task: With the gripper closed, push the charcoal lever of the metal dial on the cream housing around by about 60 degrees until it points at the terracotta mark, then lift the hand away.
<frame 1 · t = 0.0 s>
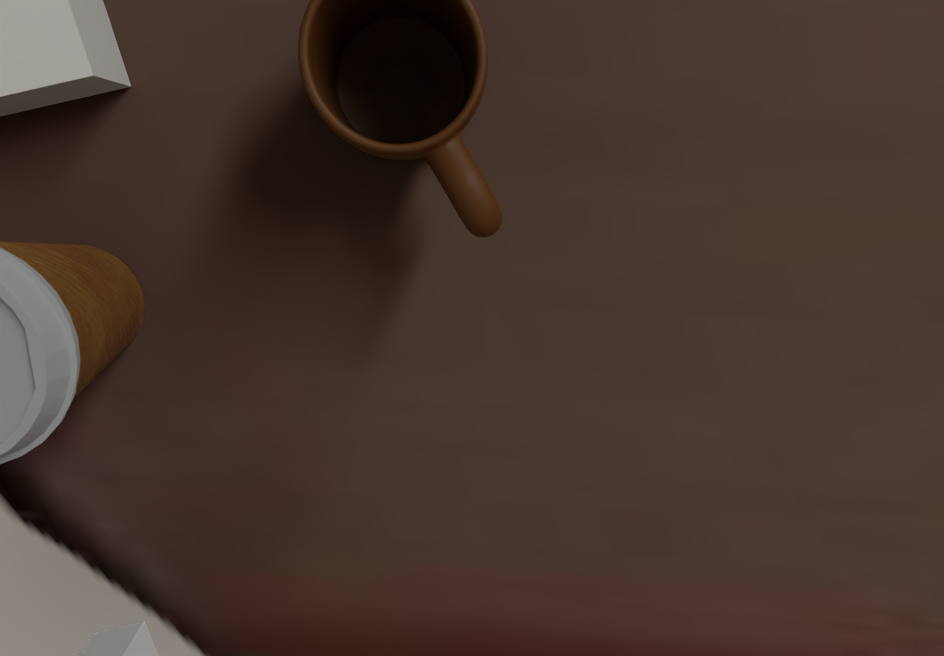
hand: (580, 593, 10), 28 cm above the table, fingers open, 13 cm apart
disposable coffee cup: (86, 301, 37), on the table
mug: (423, 125, 36), on the table
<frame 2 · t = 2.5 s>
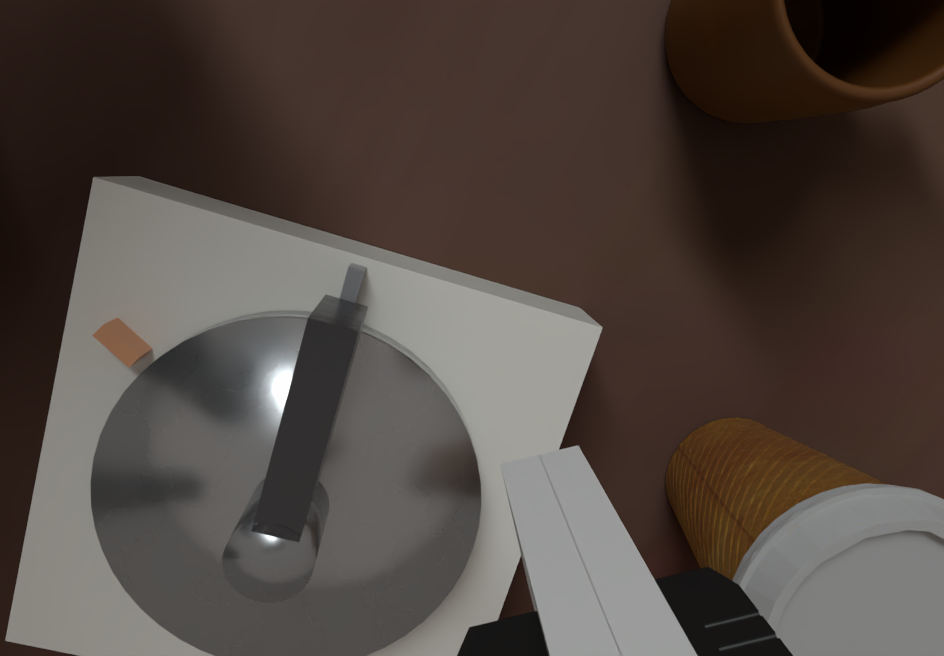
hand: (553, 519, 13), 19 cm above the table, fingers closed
disposable coffee cup: (724, 474, 34), on the table
mug: (791, 35, 29), on the table
dial: (287, 510, 25), point 7 cm above the table, hinge at 0.0°
dial housing: (312, 448, 32), on the table
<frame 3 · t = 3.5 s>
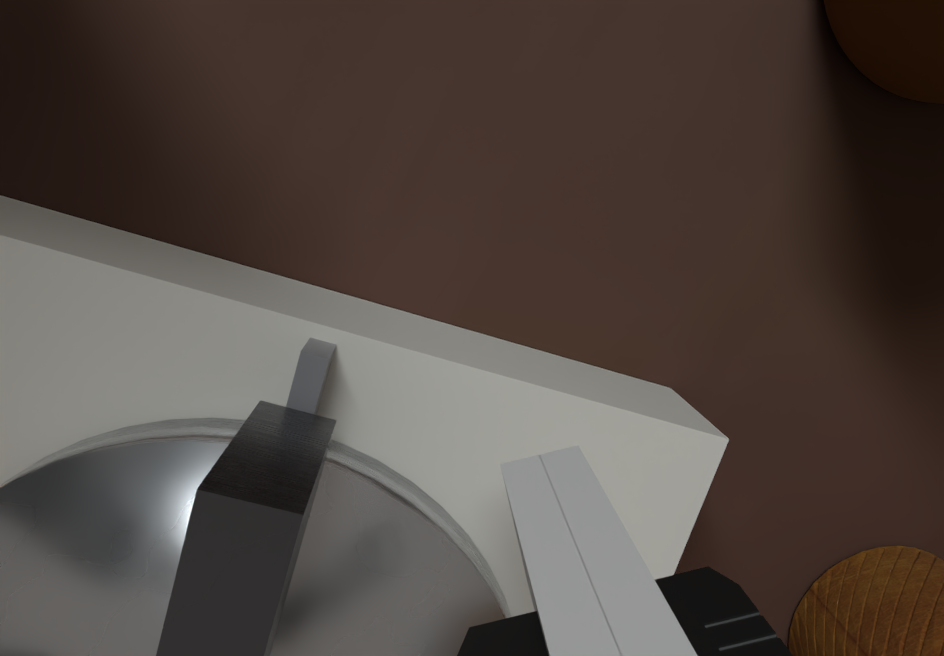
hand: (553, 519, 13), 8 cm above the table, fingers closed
disposable coffee cup: (873, 624, 23), on the table
dial housing: (263, 598, 21), on the table
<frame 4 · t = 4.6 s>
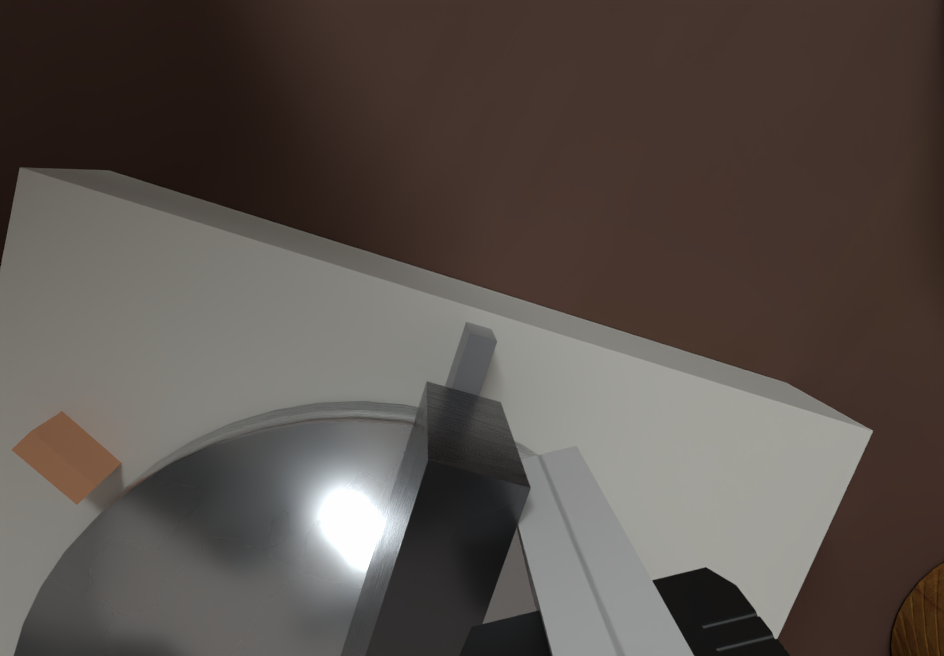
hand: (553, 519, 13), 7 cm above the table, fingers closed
dial housing: (370, 590, 21), on the table
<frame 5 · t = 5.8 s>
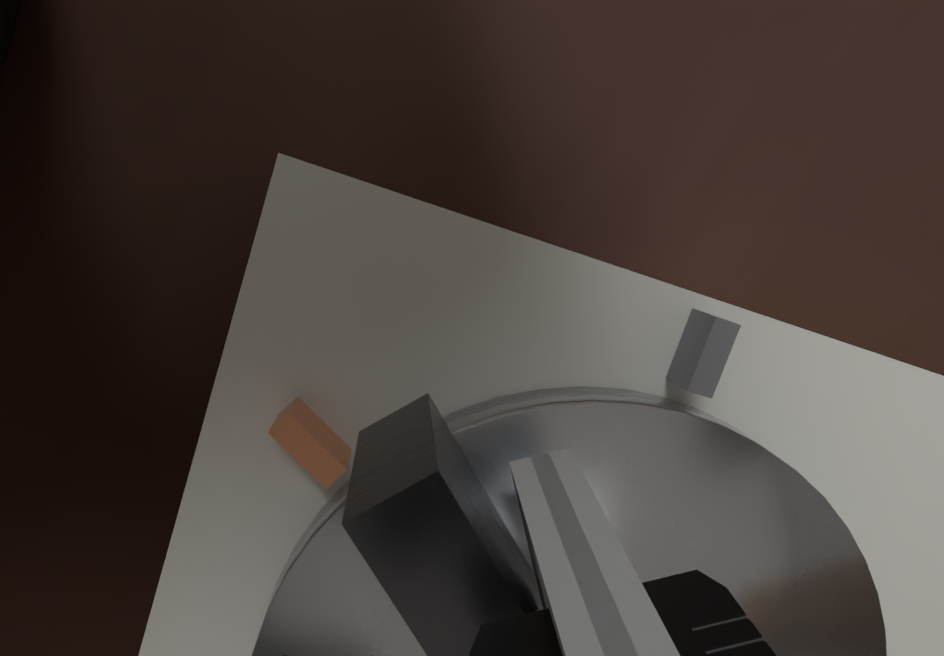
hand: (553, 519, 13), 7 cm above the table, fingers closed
dial housing: (533, 584, 21), on the table
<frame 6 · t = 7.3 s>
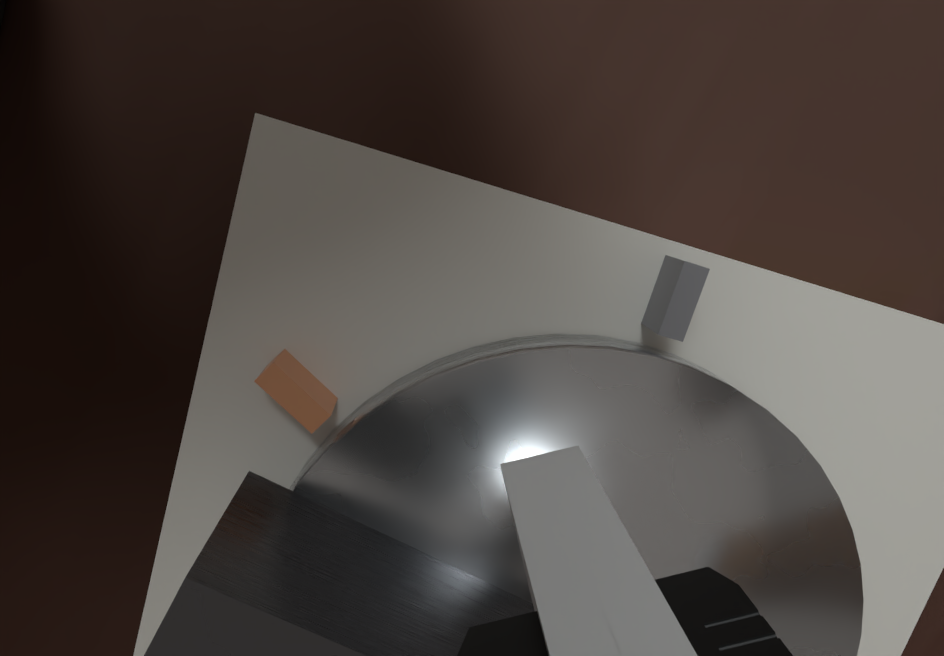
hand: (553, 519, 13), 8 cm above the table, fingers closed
dial housing: (527, 532, 22), on the table
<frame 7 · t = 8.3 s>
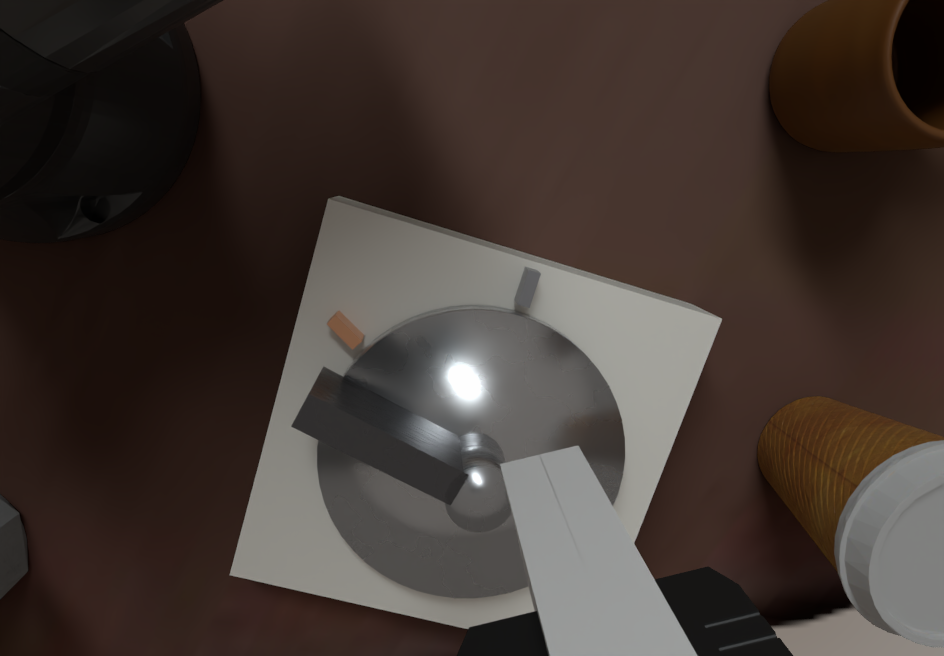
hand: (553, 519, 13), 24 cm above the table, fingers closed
disposable coffee cup: (806, 445, 40), on the table
mug: (870, 79, 36), on the table
dial: (466, 468, 31), point 7 cm above the table, hinge at 77.2°
dial housing: (466, 421, 38), on the table
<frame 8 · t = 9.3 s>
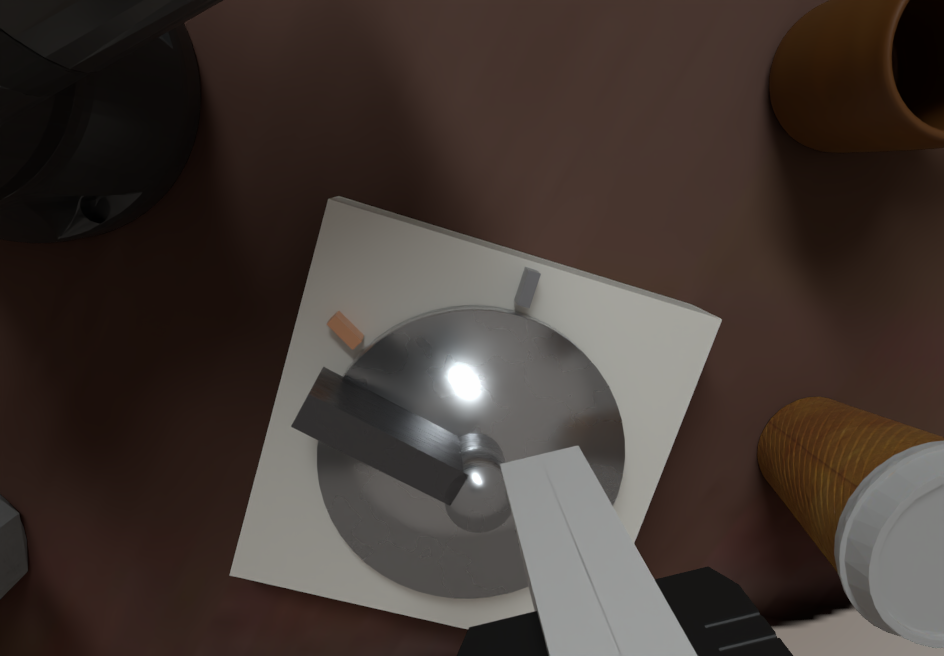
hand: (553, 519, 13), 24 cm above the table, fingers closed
disposable coffee cup: (806, 445, 40), on the table
mug: (870, 80, 36), on the table
dial: (466, 468, 31), point 7 cm above the table, hinge at 77.2°
dial housing: (466, 421, 38), on the table
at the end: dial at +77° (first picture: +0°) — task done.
